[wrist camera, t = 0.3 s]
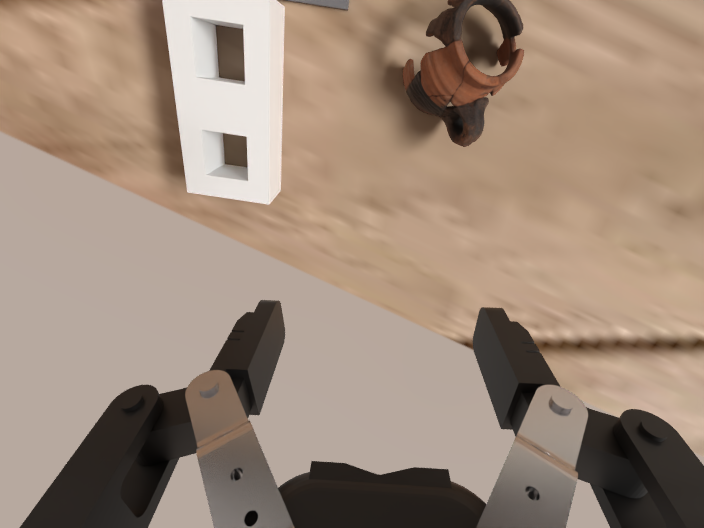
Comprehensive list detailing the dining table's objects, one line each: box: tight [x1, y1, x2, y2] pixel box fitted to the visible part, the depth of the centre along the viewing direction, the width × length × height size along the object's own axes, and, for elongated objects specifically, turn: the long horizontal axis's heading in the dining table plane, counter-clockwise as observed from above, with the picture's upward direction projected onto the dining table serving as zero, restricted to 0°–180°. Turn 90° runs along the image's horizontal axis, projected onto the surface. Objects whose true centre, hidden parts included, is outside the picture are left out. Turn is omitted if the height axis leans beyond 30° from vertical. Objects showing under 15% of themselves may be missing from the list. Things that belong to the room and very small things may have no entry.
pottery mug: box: [403, 0, 524, 147], centre depth 30 cm, size 12×10×8 cm
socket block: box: [162, 0, 285, 204], centre depth 33 cm, size 18×9×5 cm, turn 172°
